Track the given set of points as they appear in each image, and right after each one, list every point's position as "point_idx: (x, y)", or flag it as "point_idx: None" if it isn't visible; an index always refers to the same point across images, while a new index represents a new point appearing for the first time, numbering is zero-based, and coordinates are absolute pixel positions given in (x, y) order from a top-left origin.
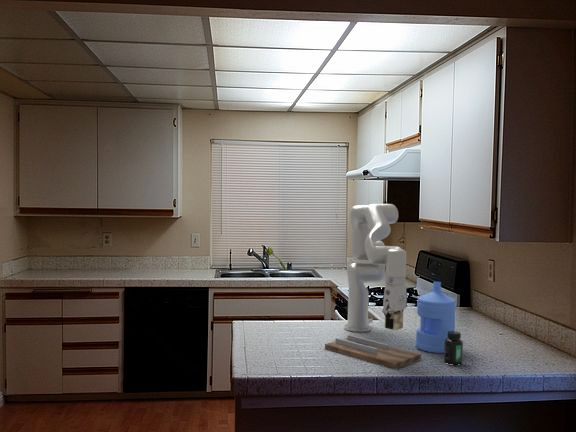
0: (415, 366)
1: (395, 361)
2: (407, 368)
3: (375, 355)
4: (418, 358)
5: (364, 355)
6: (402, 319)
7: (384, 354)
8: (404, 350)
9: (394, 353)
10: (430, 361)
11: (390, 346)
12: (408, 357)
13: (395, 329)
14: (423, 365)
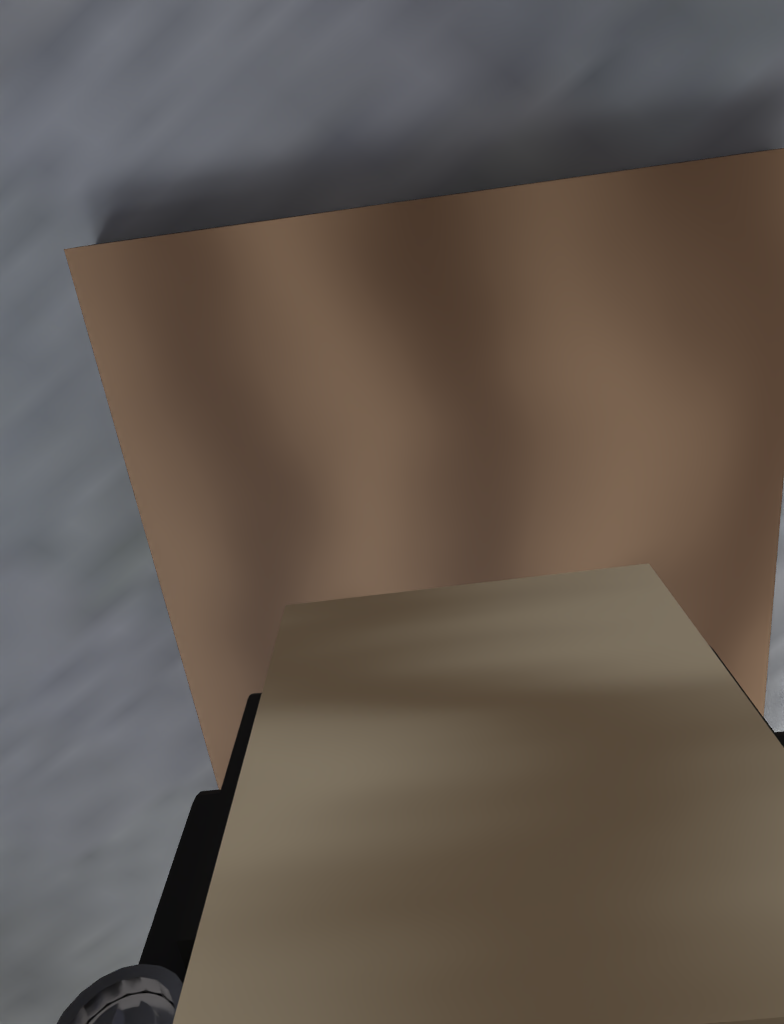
0: (426, 53)
1: (705, 229)
2: (603, 62)
3: (674, 572)
4: (151, 236)
5: (765, 648)
6: (285, 780)
7: (542, 537)
8: (160, 508)
9: (393, 493)
10: (33, 81)
11: (198, 707)
12: (371, 249)
13: (659, 578)
14: (281, 7)
